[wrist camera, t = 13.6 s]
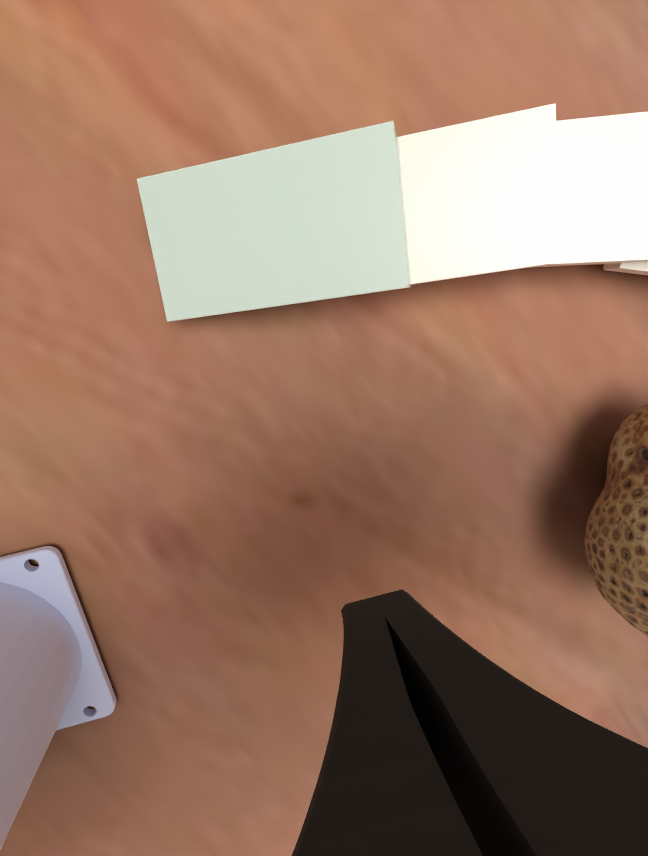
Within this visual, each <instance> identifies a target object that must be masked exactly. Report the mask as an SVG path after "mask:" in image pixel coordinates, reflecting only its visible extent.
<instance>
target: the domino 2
mask: <svg viewBox="0 0 648 856" xmlns="http://www.w3.org/2000/svg"><path fill="white" fill-rule="evenodd" d="M397 138H398V146H399V158H400V169H401V181H402V192H403V204H404V215H405V226H406V238H407V249H408V261H409V272H410V284H411V285H412V284H419V283H426V282H433V281H440V280H446V279H453V278H460V277H467V276H473V275H480V274H487V273H494V272H501V271H507V270H514V269H521V268H528V267H535V266H541V265H547V264H553V263H558V206H557V147H556V103H555V104H550V105H545V106H541V107H536V108H531V109H527V110H522V111H517V112H513V113H508V114H503V115H499V116H494V117H489V118H485V119H480V120H475V121H471V122H466V123H461V124H456V125H452V126H447V127H442V128H438V129H433V130H428V131H424V132H419V133H414V134H410V135H405V136H400V137H397Z"/></svg>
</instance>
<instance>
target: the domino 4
mask: <svg viewBox="0 0 648 856" xmlns="http://www.w3.org/2000/svg"><path fill="white" fill-rule="evenodd" d="M603 270H607V271H615V272H623V273H632V274H640V275H648V262H635V263H614V264H604V267H603Z"/></svg>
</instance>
